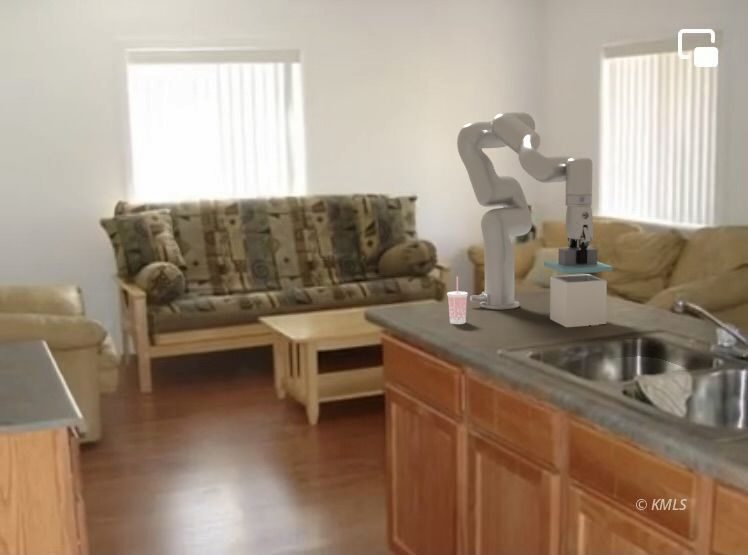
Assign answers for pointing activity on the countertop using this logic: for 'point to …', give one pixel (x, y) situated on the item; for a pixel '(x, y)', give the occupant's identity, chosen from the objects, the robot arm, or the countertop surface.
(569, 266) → the teal lid
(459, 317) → the beverage cup
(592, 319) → the off-white crate
